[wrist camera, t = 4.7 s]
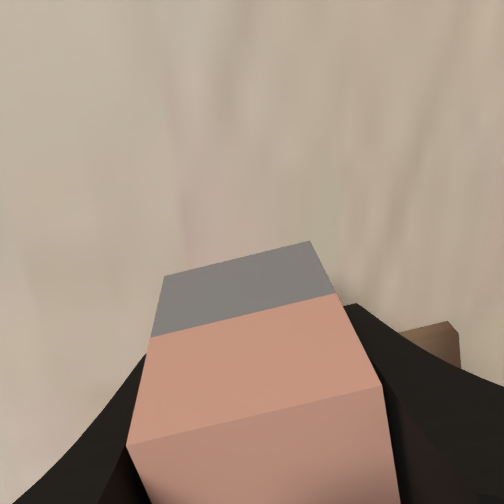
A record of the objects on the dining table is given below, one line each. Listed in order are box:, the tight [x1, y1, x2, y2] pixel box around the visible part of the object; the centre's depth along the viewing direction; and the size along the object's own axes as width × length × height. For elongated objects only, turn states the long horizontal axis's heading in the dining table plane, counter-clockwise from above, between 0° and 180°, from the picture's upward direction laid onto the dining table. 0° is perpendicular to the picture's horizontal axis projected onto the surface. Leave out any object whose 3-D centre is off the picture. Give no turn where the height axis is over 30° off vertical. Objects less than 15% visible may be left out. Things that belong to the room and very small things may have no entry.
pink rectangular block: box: [126, 241, 401, 504], centre depth 11 cm, size 4×4×6 cm
